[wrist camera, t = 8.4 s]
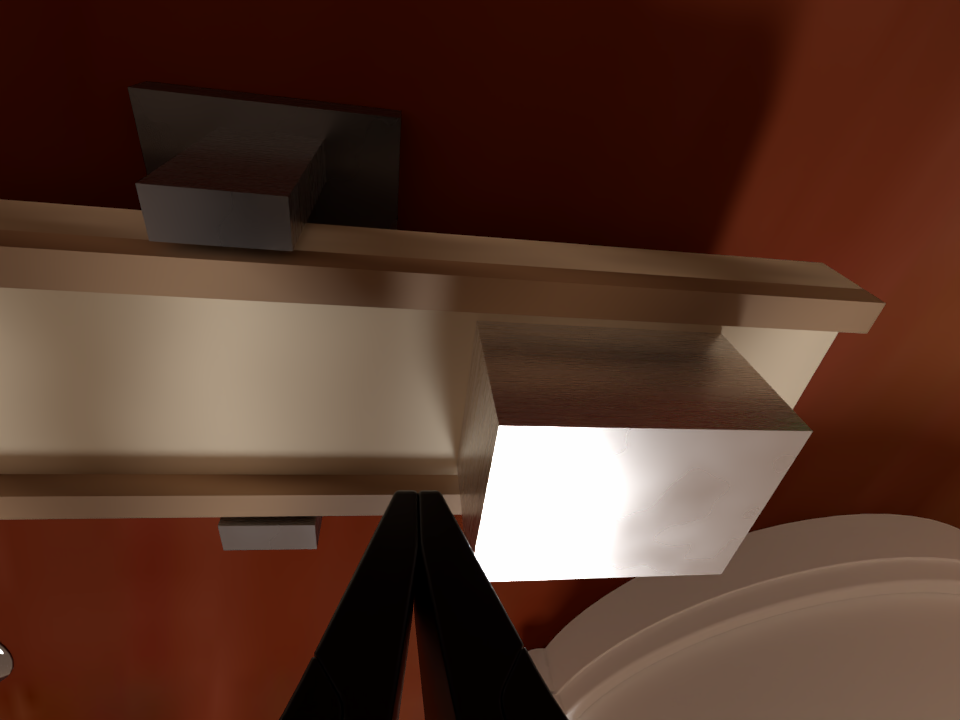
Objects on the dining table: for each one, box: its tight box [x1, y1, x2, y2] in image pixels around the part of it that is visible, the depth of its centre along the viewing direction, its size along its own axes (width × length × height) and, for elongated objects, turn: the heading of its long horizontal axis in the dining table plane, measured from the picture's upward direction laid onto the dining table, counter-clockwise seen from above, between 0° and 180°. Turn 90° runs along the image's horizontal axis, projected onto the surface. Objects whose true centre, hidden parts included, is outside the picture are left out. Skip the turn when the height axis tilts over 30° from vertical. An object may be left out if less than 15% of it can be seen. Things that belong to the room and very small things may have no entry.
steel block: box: [457, 321, 813, 582], centre depth 12 cm, size 6×4×4 cm
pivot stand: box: [128, 81, 401, 550], centre depth 14 cm, size 6×11×6 cm, turn 173°
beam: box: [0, 199, 886, 519], centre depth 13 cm, size 24×7×3 cm, turn 83°
